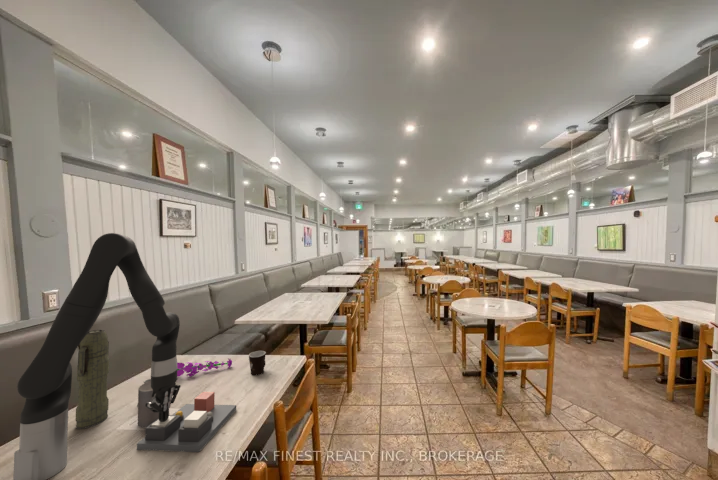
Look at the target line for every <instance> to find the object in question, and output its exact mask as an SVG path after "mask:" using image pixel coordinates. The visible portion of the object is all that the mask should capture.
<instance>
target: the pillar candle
mask: <svg viewBox="0 0 718 480" xmlns="http://www.w3.org/2000/svg"><path fill="white" fill-rule="evenodd" d="M137 392H138V393H137V397H138V398H137V399H138V400H137V404H138V407H137V426H138V427H139V428H146V427H148V426H149V425H150V424H151V423H153V422H154V421H155V420H157V419H158V418H159V413H156V412H152V411H151V410H150V409H148V408H147V407H146V406H145V405H146V403H147V402H150V400H151V399H152V393H153V389H152V388H151V381H149V382H146V383H144V382H143V383H142V384H141V385H139V387H138V391H137ZM161 407H162V405H161Z"/></svg>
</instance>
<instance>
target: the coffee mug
mask: <svg viewBox="0 0 718 480" xmlns="http://www.w3.org/2000/svg"><path fill="white" fill-rule="evenodd" d="M266 354H267V352H266V351H264V350H256V351H252V352H250V353H249V354H248V361H249V367H250V368H249V369H250V375H251V374H252V375H251V376H261V374H263V373H264V372H265V366H266Z"/></svg>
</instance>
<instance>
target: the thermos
mask: <svg viewBox="0 0 718 480" xmlns="http://www.w3.org/2000/svg"><path fill="white" fill-rule="evenodd" d="M108 337H109V336H108V334H107V332H106V330H104V329H94V330H89V332H88V333H87V335H86V336H85V337H84V339H83V340H82V341H81V343H80V344H79V350H78V353H77V367H76V368H77V369H76V380H77V382H78V388H77V389H78V390H77V391H78V395H77V406H76V408H75V422H76V424H75V428H76V429H78V430H80V429H81V430H82V429H87V428H91V427H93V426H96V425H98V424H100V423H103V422H104V421H105V420H107V419H108V416H109V415H108V411H109V398H108V374H109V372H110V358H109V346H110V345H109V342H110V341H109V339H108Z"/></svg>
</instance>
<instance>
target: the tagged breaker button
mask: <svg viewBox="0 0 718 480" xmlns="http://www.w3.org/2000/svg"><path fill="white" fill-rule="evenodd" d="M174 419H175V416H169V418H168V419H167V420H166V421H165V422H160V421H159V419H158V420H157V421H156V422H154V423H153V424H152V425H151V427H165V426H167V425H168V424H169V423H170V422H171V421H173V420H174Z"/></svg>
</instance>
